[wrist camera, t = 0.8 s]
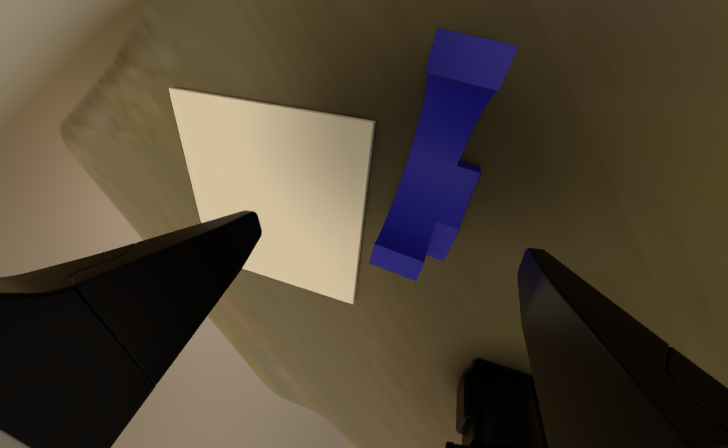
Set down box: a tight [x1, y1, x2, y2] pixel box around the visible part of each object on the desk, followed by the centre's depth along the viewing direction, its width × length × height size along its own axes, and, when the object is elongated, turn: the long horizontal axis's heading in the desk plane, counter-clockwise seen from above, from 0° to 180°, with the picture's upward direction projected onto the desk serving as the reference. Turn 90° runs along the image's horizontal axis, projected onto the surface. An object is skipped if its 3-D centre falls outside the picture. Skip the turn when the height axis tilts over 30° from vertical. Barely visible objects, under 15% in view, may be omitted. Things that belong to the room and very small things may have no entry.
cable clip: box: [369, 28, 518, 281], centre depth 16 cm, size 12×4×6 cm, turn 168°
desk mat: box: [169, 88, 376, 304], centre depth 24 cm, size 17×17×1 cm
